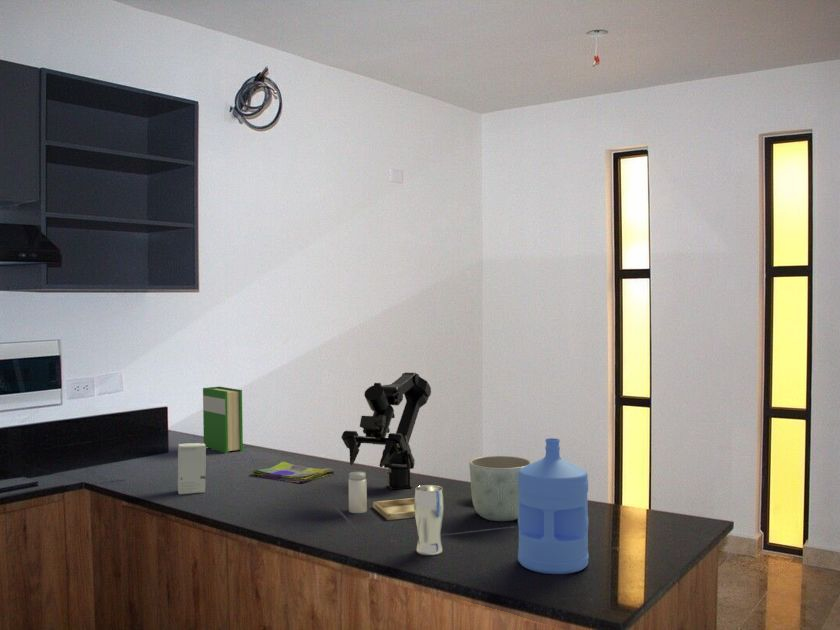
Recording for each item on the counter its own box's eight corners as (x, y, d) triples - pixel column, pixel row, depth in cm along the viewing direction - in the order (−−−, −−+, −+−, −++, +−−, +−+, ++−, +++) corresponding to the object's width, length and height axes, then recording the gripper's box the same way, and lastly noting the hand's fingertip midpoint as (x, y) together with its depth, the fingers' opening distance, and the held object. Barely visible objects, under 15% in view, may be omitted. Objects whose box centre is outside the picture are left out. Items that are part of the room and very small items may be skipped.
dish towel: (285, 467, 286) (285, 459, 286) (337, 475, 273) (337, 467, 273) (249, 476, 272) (249, 468, 272) (302, 485, 258) (302, 477, 258)
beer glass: (413, 547, 193) (413, 485, 193) (442, 546, 194) (441, 484, 193) (415, 556, 186) (415, 492, 186) (445, 555, 187) (445, 491, 186)
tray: (419, 504, 232) (419, 497, 232) (436, 516, 219) (436, 509, 219) (373, 508, 228) (372, 501, 228) (387, 521, 215) (387, 514, 214)
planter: (521, 507, 228) (521, 454, 227) (540, 524, 211) (540, 467, 211) (463, 511, 225) (463, 457, 224) (478, 528, 208) (477, 469, 208)
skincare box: (178, 495, 246) (177, 446, 245) (177, 490, 251) (176, 443, 251) (206, 492, 248) (206, 444, 248) (205, 488, 254) (204, 441, 254)
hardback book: (242, 451, 315) (241, 390, 314) (225, 453, 310) (225, 391, 309) (220, 445, 328) (219, 386, 327) (203, 447, 323) (202, 388, 322)
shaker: (364, 509, 227) (363, 470, 227) (368, 513, 223) (368, 474, 222) (346, 511, 226) (346, 472, 225) (351, 515, 221) (351, 475, 221)
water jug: (524, 550, 190) (523, 432, 189) (591, 555, 186) (591, 435, 185) (512, 571, 175) (511, 444, 175) (585, 578, 171) (585, 447, 170)
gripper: (343, 403, 237) (326, 447, 227) (402, 405, 230) (387, 451, 220) (355, 425, 245) (339, 469, 234) (412, 429, 238) (398, 473, 228)
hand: (365, 465), depth 229 cm, fingers open, 9 cm apart
